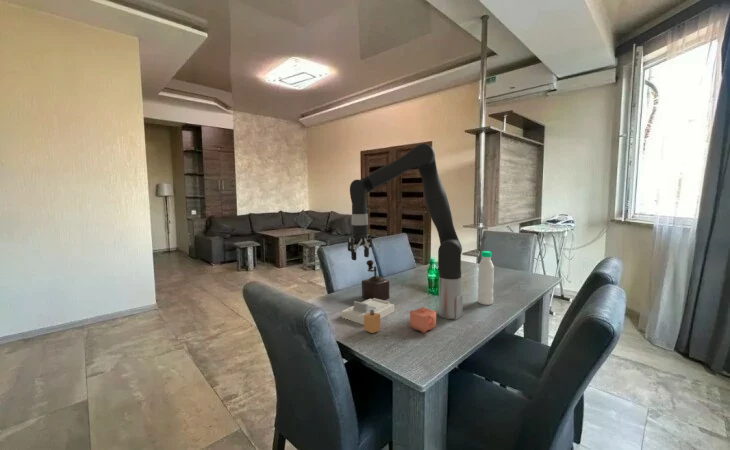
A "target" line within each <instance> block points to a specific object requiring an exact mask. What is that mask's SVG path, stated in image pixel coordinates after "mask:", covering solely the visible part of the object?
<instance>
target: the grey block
mask: <svg viewBox="0 0 730 450" xmlns="http://www.w3.org/2000/svg"><path fill="white" fill-rule="evenodd" d="M361 302H362V301H358V300H355V301H353V306H354V308H353V310H354V311H357V312H361V313H365V314H367V313H369V312H370V310H375V309H376V307H373V306H369V305H367V304H365V303H361Z"/></svg>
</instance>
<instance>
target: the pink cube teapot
mask: <svg viewBox="0 0 730 450" xmlns="http://www.w3.org/2000/svg"><path fill="white" fill-rule="evenodd" d="M409 327H410V328H411V329H413V330H414V331H419V332H421V333H422V334H426V333H427V331H429V330H430V331H432V330H433V328H435V327H437V311H435V310H434V309H433V310H432V309H429V308H426V307H424V306H422V307H419V308H417V309H414V310H410V312H409Z"/></svg>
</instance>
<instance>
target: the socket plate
mask: <svg viewBox="0 0 730 450" xmlns="http://www.w3.org/2000/svg"><path fill="white" fill-rule="evenodd" d="M360 302H361V303H365V304H367V305H369V306H373V307H376V309H375V310H374V313H378V314H380V320H381V319H382V318H385V317H386V316H388V315H390V314H391V313H394V312H395V311H396V310H395V304H393V303H391V301H387V300H380V299H376V298H373V299H368V300H364V301H360ZM353 308H354V305H353V306H349V307H347V308H346V309H343V310H341V318H342V319H344V318H345V320H347V319H348V320H347V321H350V320H351V321H350V322H353V323H357V324H359V325H360V324H361V325H363V326H364V315H365V313H361V312H357V311H354V310H353Z"/></svg>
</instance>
